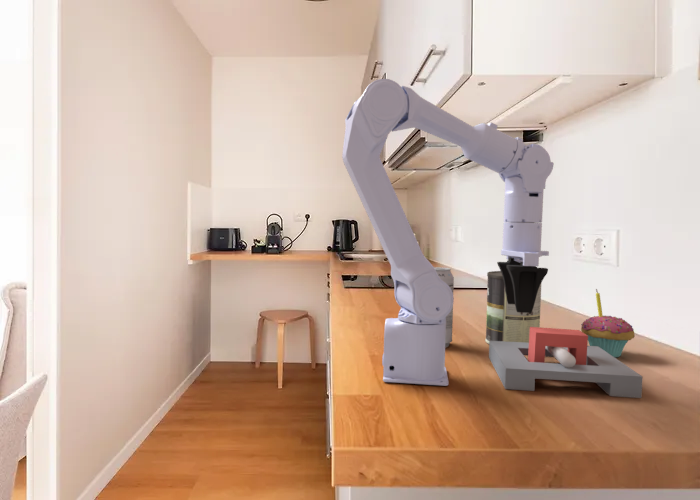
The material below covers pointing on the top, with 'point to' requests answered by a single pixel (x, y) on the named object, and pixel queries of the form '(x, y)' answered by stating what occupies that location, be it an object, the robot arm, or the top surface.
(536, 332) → the red arch block
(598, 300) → the cupcake
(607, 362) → the grey frame with dowel
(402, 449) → the top surface
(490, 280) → the coffee can
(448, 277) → the energy drink can
